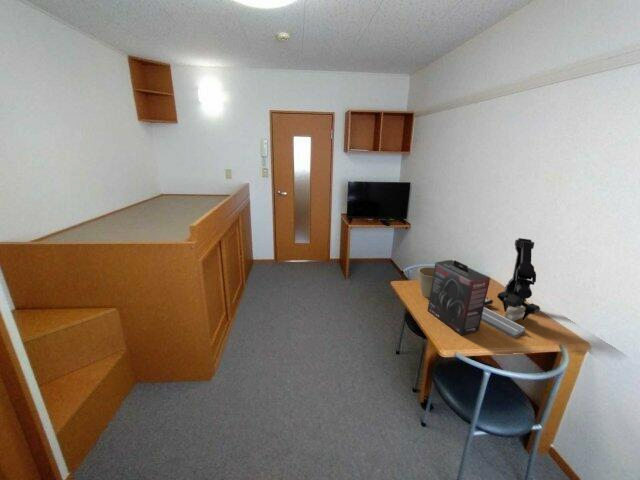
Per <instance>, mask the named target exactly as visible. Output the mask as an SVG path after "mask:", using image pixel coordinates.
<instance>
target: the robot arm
mask: <svg viewBox="0 0 640 480" xmlns="http://www.w3.org/2000/svg"><path fill="white" fill-rule="evenodd" d="M514 246H515V251H516V258H515V264H514V270H513V273H512V278H510V280H508V282H507V283H508V284H506V285H505V288H504V291H501V292H499V293H497V295H496V296H497V299H499V300H500V301H501V302H502V304H503V305H502V306H503V309H504V312H505V313H506V311H507V308H509V306H510V307H516V306H519V307H520V306H521V305H522V306H524V307H525V310H524V314H523V317H522V318H521V320H522V321H525V320H526V319H527V318H528V317H529V316H530V315H531V314H532V315H533V314H534V315H535V314H536V313H539V312H540V310H541V307H540V305H537V304H535V303H533V302H531V303H526V301H527V299H529V298H531V297H532V296H533V291H532V288H531V285H535V283H536V281H537V272H536V271H535V266H534V265H533V264H532V250H533V249H534V247H535V241H533V240H532V239H528V238H522V237H521V238H520V237H518V238H517V239H515V241H514Z"/></svg>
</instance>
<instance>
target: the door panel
mask: <svg viewBox="0 0 640 480" xmlns="http://www.w3.org/2000/svg"><path fill="white" fill-rule="evenodd" d="M525 310H526V307H524V306H522V305H521V306H520V307H519V306H516V307H512V306H510V307H508V308H507V311H506V312H505V316H504V317H505V318H507V319H509V320H511V321H513V322H515V321H517V320H519V319H522V318H523V316H524V313H525V312H524V311H525Z"/></svg>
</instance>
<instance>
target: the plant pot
mask: <svg viewBox="0 0 640 480" xmlns="http://www.w3.org/2000/svg"><path fill="white" fill-rule="evenodd" d="M433 273H434V267H433V266H432V267H431V266H424V267H420V268H419V269H418V280H419V286H420V291H421V295H422V296H423V297H425V298H428V299H429V298H430V292H431V286H432V280H433Z"/></svg>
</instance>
